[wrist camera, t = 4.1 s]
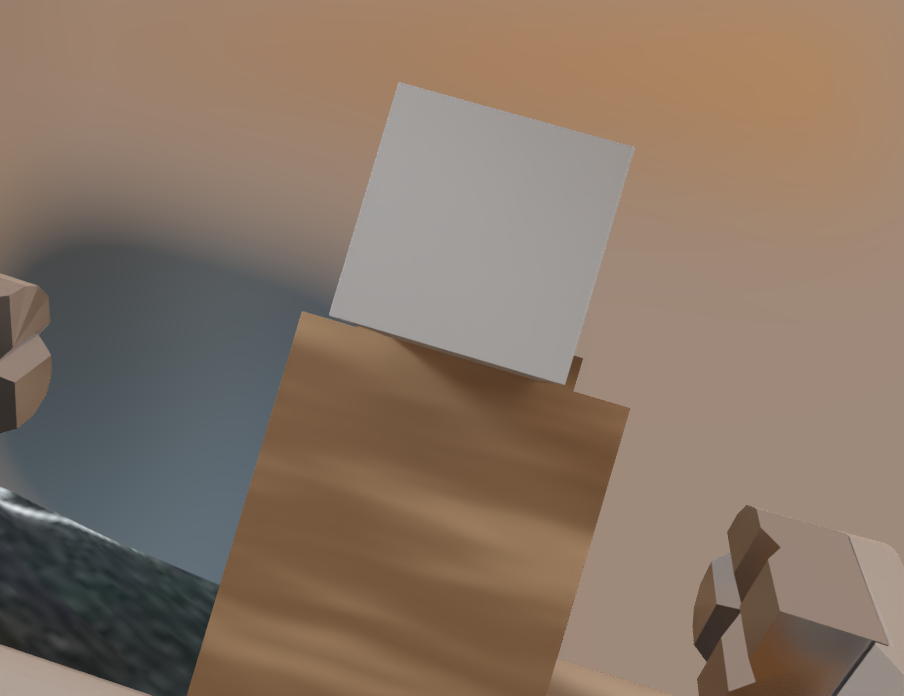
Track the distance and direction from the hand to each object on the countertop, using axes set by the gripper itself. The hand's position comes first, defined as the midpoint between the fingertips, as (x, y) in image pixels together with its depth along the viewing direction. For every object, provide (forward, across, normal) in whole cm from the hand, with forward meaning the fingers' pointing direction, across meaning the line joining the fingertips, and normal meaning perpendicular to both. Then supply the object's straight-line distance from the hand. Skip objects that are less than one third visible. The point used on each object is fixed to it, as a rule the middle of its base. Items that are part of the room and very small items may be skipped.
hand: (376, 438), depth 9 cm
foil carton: (+14, 0, +7) cm, 15 cm away
